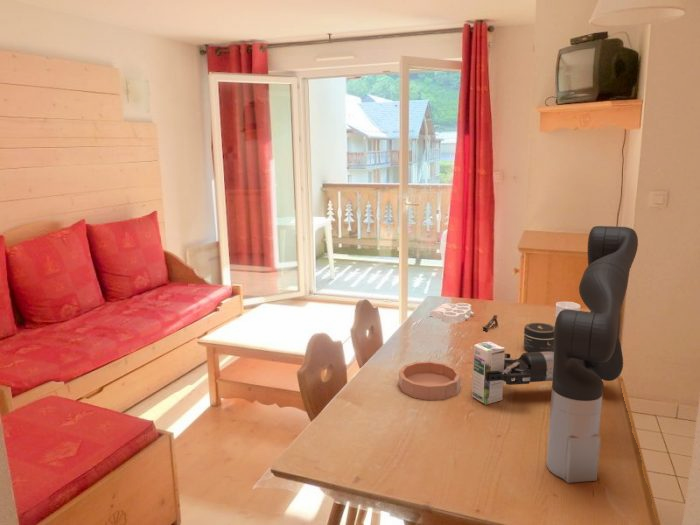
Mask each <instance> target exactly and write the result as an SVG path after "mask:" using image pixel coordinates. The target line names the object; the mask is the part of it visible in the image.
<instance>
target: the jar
mask: <svg viewBox="0 0 700 525" xmlns="http://www.w3.org/2000/svg"><path fill="white" fill-rule="evenodd" d="M554 328H555V325H552V324H550V323H544V322H530V323H528V324H527V323H526V324H525V325H524V328H523V329H524V330H523V347H524V349H525V350H526V352H527V353H530V352H554Z"/></svg>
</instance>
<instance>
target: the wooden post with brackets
mask: <svg viewBox="0 0 700 525" xmlns="http://www.w3.org/2000/svg"><path fill="white" fill-rule="evenodd" d="M497 319H498V315H497V314H494V315H493V316H492V318H491V319H490V320H489V321H488V323H487V324H486V325H485V326H483V325H482V330H483V331H485V332H489V328H491V329H494V328H496V326H499V322H498V320H497Z"/></svg>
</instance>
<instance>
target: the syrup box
mask: <svg viewBox="0 0 700 525" xmlns="http://www.w3.org/2000/svg"><path fill="white" fill-rule="evenodd" d="M505 354H506V347H503V346H500V345H498V344H496V343H494V342H492V341H483V342H479V343H476V344H474V345H473V362H472V383H471V384H472V385H471V386H472V387H471V388H472V389H471V397H472V398H474V399H476V400H477V401H479V402H481V403H482V404H484V405H485V406H488V405H491V404H494V403H497V402H499V401H503V393H504V392H503V390H504V382H502V381H501V380H498V381H486V380H485V373H486V372H492V371H500V372H501V371H503V370H504V358H505Z"/></svg>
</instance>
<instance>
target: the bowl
mask: <svg viewBox="0 0 700 525" xmlns="http://www.w3.org/2000/svg"><path fill="white" fill-rule="evenodd" d="M398 385H399V387H400V390H401V392H402V393H404V394H405V395H408V396H410V397H412V398H413V399H420V400H425V401H440V400H442V401H443V400H446V399H447V400H448V399H449V398H451V397H455V396H456V395H458V393H459V392H460V389H461V373H460V372H459V370H458V369H457V368H455V367H454V366H451V365H448V364H447V363H444V362H435V361H432V360H431V361H430V360H429V361H416V362H415V361H414V362H412V363H409V364H406V365H405V364H404V365H403V366H402V368H401V369H400V370H399V372H398Z"/></svg>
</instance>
